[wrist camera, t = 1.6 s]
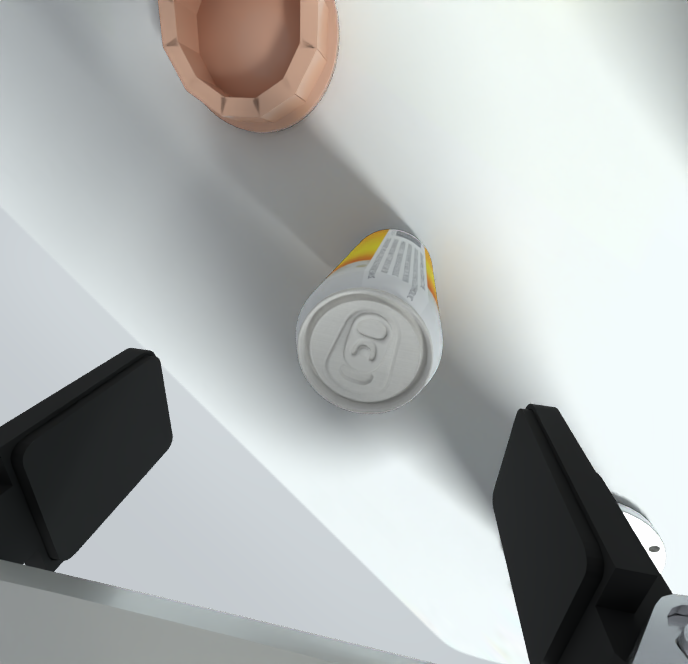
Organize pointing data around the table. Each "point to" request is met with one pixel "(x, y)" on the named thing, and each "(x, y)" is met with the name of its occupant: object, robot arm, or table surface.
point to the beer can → (373, 326)
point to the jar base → (253, 56)
